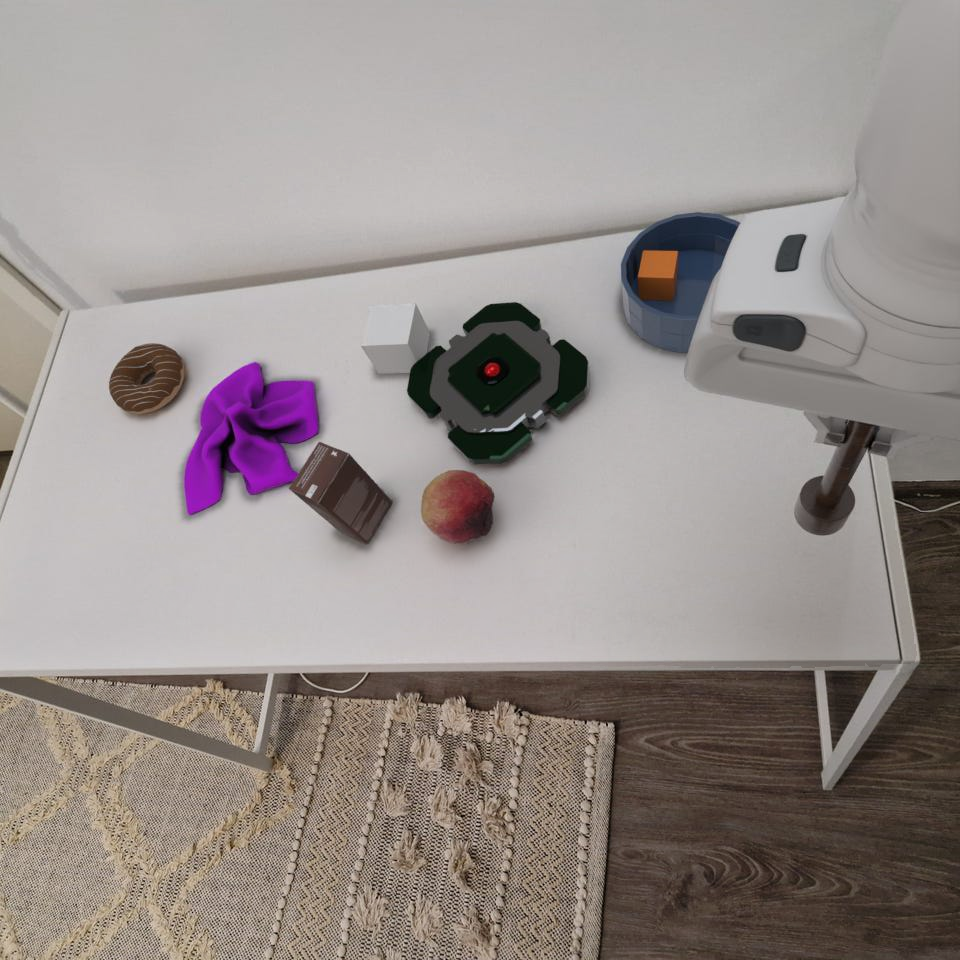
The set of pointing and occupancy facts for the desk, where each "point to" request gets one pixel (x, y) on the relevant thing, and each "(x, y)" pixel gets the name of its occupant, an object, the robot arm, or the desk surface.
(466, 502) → the fruit
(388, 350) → the white cube
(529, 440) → the flat green button pad
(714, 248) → the bowl
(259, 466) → the cloth
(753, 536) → the desk surface
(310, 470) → the box
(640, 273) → the block
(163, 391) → the donut
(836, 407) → the robot arm
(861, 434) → the stirrer
